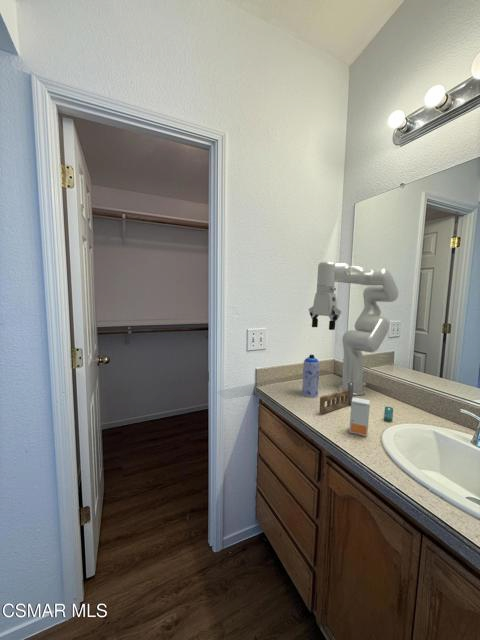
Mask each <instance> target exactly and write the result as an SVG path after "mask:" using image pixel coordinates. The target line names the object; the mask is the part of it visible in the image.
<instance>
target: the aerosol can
mask: <svg viewBox="0 0 480 640" xmlns="http://www.w3.org/2000/svg"><path fill="white" fill-rule="evenodd" d="M302 369H303V371H302V389H301V390H302V392H301V395H302V396H303V397H306V398H311V399H312V398H314V399H315V398H318V397H319V382H320V381H319V378H320V361H319V360H318V359H317V358H316V357H315V354H309V356H308V357H306V358H305V359H304V361H303V367H302Z"/></svg>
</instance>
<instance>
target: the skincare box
mask: <svg viewBox="0 0 480 640" xmlns="http://www.w3.org/2000/svg"><path fill="white" fill-rule="evenodd" d="M370 405H371V400H370V399H364V398H358V397H353V398H352V402H351V406H350V416H349V418H350V420H349V429H348V430H349V432H348V433H350V434H351V433H352V434H356V435H359V436H364V437H368V431H369V421H370V420H369V419H370V407H371V406H370Z"/></svg>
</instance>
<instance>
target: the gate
mask: <svg viewBox="0 0 480 640" xmlns="http://www.w3.org/2000/svg"><path fill="white" fill-rule="evenodd" d="M349 392H350V390H348V389H346V390H343V391H339V390H338V391H336V392H332V393H329V394H326V395H323V396H320V397H319V414H321V415H322V414H326V413H329V412H331V411H335V410H338V409H340V408H343V407H346V406H348V405H349Z"/></svg>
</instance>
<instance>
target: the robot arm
mask: <svg viewBox="0 0 480 640" xmlns="http://www.w3.org/2000/svg"><path fill="white" fill-rule="evenodd" d="M316 279H317V280H316V281H317V282H316V293H315V294H314V299H313V305H312V306H311V307H309V308H308V312H309V316H310V318H311V327H312V328H318V326H319V325H318V324H319V316H323V317H328V318H329V319H330V320H329V322H328V330H330V331H335V330H336V322H337V320H338V319H339V318H340V315H341V314H342V310H341V309H339V308H337V307H338V302H337V294H336V293H335V291H336V290H337V287H335V286H336V283H344V284H345V283H346V284H355V285H362V286H367V287H365V288H364V289H363V293H362V296H363V303H364V304H363V305H364V307H363V309H362V312H361V313H360V314H359V316H358V317H357V319H356V321H355V322H354V329H355V330H353V329H352V330H347V331H345V332H344V333H343V335H342V340H341V341H342V348H343V361H342V377H341V378H342V381H341V385H339V386H338V392H339V391H343V390H346V389H348V383H354V387H353V397H354V396H355V397H357V396H358V397H360V396H364V395H365V394H366V389H363V387H366V385H367V382H365V381H363V376H364V375H363V374H364V360H365V359H364V354H363V352H365V353H375V352H377V351H378V350H379V348H380V347H381V345H382V344H383V341H384V340H385V338H386V336H387V334H388V332H389V330H390V322H389V320H388V318H386V317H385V316H381V313H382V311H381V309H380V306H379V305H378V303H377V302H381V303H393V302H395V301H396V300H397V299H398V298H399V289H398V285H397V284H396V282H395V281H396V280H395V279H394V276H393V275H392V273H391V271H389V269H387V268H385V267H379V268H368V267H363V266H359V265H350V264H349V263H346V262H333V261H321V262H319V263H318V266H317V277H316Z"/></svg>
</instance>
